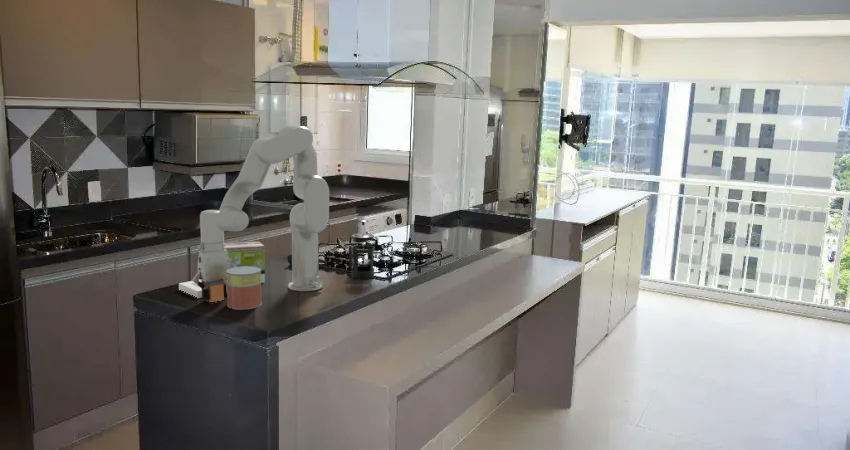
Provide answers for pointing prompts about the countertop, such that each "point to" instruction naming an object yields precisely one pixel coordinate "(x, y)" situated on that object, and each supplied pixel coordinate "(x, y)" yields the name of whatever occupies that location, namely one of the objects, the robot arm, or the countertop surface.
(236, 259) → the tea box
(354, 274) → the french press
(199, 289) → the socket plate
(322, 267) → the can opener
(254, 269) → the canned food
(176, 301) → the countertop surface
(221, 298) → the plug
